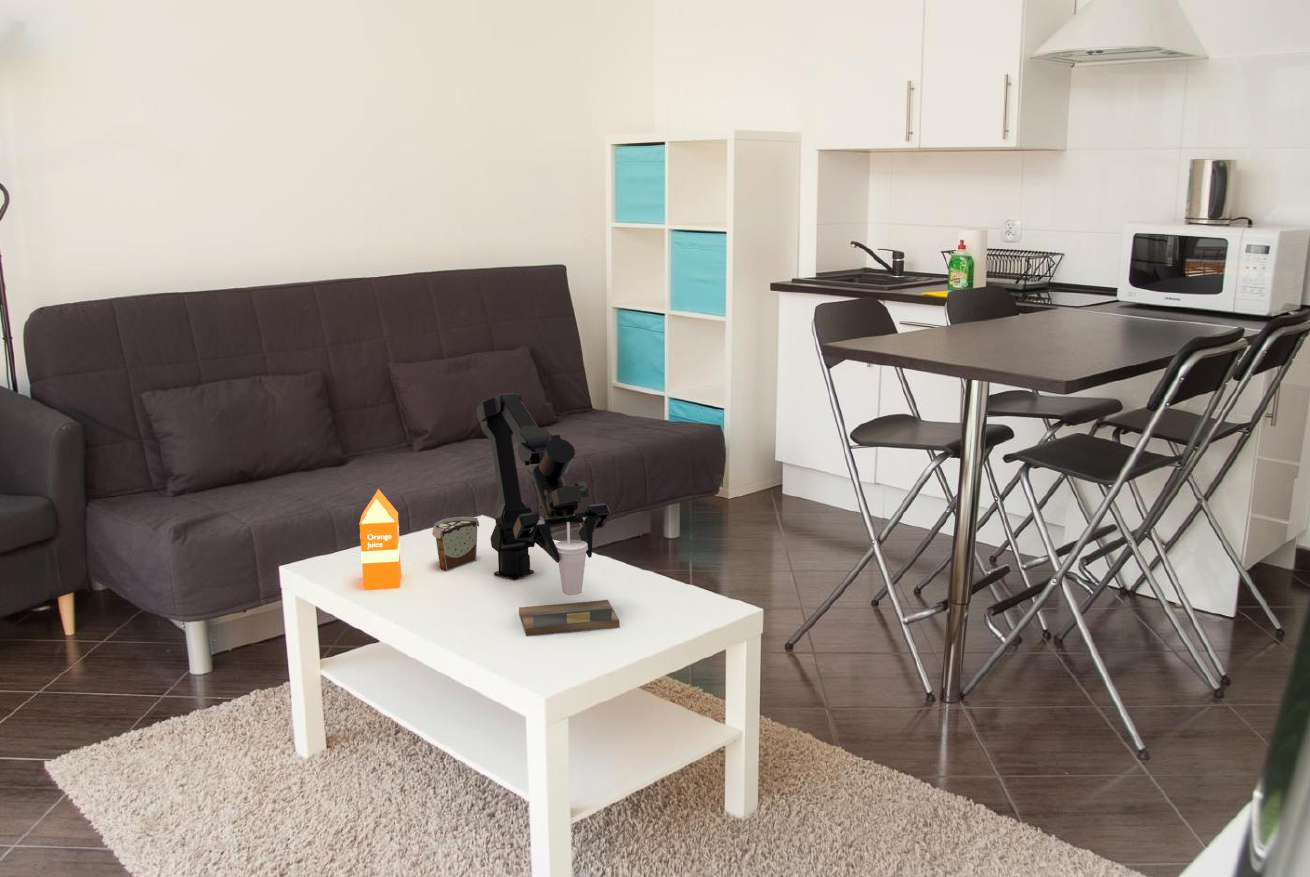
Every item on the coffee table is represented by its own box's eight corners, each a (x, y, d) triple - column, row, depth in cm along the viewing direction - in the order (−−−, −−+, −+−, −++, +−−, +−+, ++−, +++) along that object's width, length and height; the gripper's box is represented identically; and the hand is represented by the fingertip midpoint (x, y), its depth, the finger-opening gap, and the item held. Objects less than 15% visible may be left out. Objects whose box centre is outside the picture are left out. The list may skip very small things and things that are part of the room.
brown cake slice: (461, 555, 272) (459, 513, 270) (480, 559, 269) (479, 517, 267) (422, 568, 263) (420, 525, 261) (441, 573, 259) (439, 529, 257)
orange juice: (402, 575, 258) (397, 487, 254) (400, 588, 249) (395, 497, 245) (365, 577, 257) (360, 489, 253) (362, 590, 248) (357, 499, 244)
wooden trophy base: (519, 614, 233) (518, 595, 232) (607, 606, 236) (607, 588, 236) (526, 636, 221) (525, 616, 220) (619, 628, 225) (619, 608, 224)
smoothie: (564, 584, 231) (562, 516, 228) (594, 588, 229) (592, 519, 226) (550, 595, 225) (548, 525, 222) (580, 599, 223) (579, 528, 220)
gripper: (516, 474, 221) (539, 545, 214) (606, 463, 229) (630, 531, 222) (503, 504, 230) (525, 574, 223) (590, 493, 238) (614, 559, 231)
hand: (574, 559), depth 224 cm, fingers closed on smoothie, 6 cm apart
